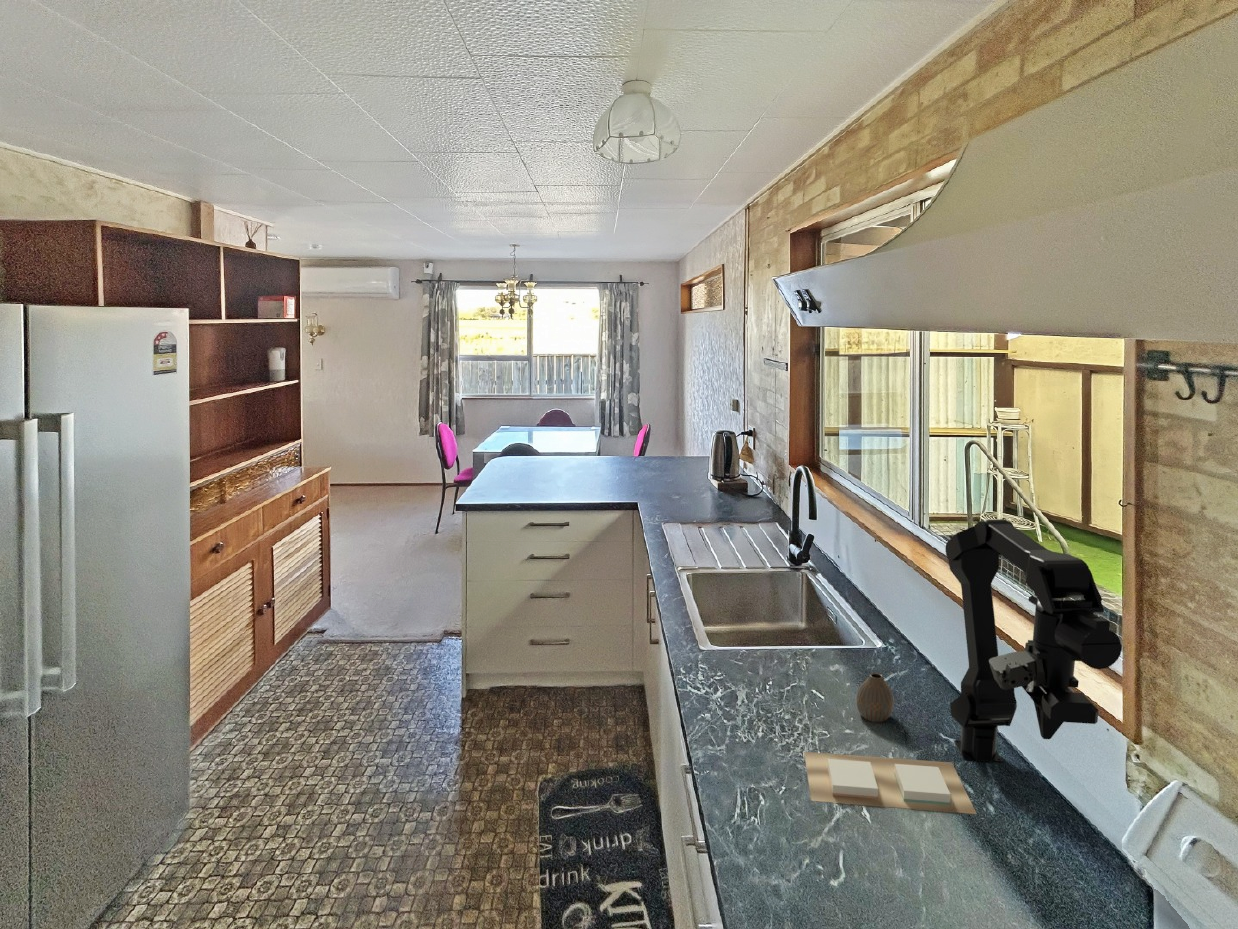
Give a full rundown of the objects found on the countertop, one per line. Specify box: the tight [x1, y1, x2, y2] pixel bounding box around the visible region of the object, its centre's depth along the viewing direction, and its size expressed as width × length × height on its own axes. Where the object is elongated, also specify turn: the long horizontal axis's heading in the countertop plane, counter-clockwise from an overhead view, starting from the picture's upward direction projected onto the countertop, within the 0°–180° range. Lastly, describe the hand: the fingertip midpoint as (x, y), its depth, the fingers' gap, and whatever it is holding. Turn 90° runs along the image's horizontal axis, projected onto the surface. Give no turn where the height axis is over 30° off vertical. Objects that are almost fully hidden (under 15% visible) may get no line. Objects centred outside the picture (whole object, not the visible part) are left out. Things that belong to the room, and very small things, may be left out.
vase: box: [855, 672, 895, 723], centre depth 153 cm, size 7×7×9 cm
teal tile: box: [894, 764, 951, 805], centre depth 129 cm, size 2×7×8 cm
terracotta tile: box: [827, 759, 878, 799], centre depth 131 cm, size 2×7×8 cm
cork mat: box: [803, 751, 977, 815], centre depth 132 cm, size 15×25×1 cm, turn 81°
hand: (1045, 738), depth 121 cm, fingers closed
